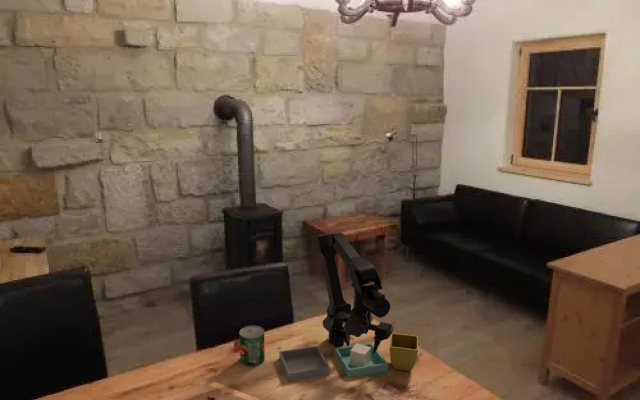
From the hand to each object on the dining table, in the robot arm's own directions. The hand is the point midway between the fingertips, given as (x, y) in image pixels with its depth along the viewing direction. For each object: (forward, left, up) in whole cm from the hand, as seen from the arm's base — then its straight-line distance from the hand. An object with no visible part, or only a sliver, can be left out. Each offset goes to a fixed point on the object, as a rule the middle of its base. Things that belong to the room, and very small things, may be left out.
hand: (361, 349), depth 149 cm
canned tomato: (-11, -33, -6) cm, 35 cm away
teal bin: (0, 0, -6) cm, 6 cm away
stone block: (0, 0, -5) cm, 5 cm away
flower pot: (+4, +13, -6) cm, 15 cm away
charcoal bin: (-3, -18, -6) cm, 19 cm away
